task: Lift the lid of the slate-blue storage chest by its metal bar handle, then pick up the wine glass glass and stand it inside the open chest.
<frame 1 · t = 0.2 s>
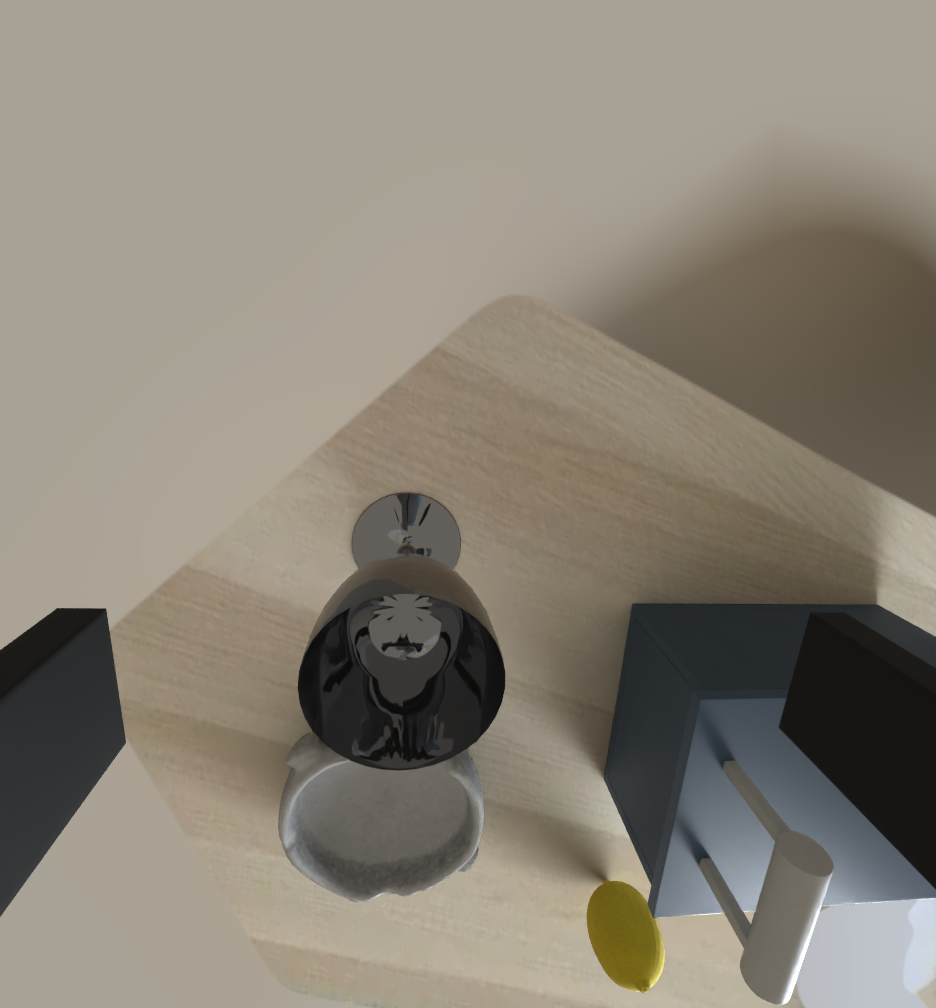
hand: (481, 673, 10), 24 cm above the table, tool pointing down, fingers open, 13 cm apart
chest: (737, 693, 41), on the table
lemon: (605, 879, 45), on the table
lid: (882, 856, 28), point 14 cm above the table, hinge at 0.0°
wine glass: (406, 543, 34), on the table
dish: (387, 776, 40), on the table
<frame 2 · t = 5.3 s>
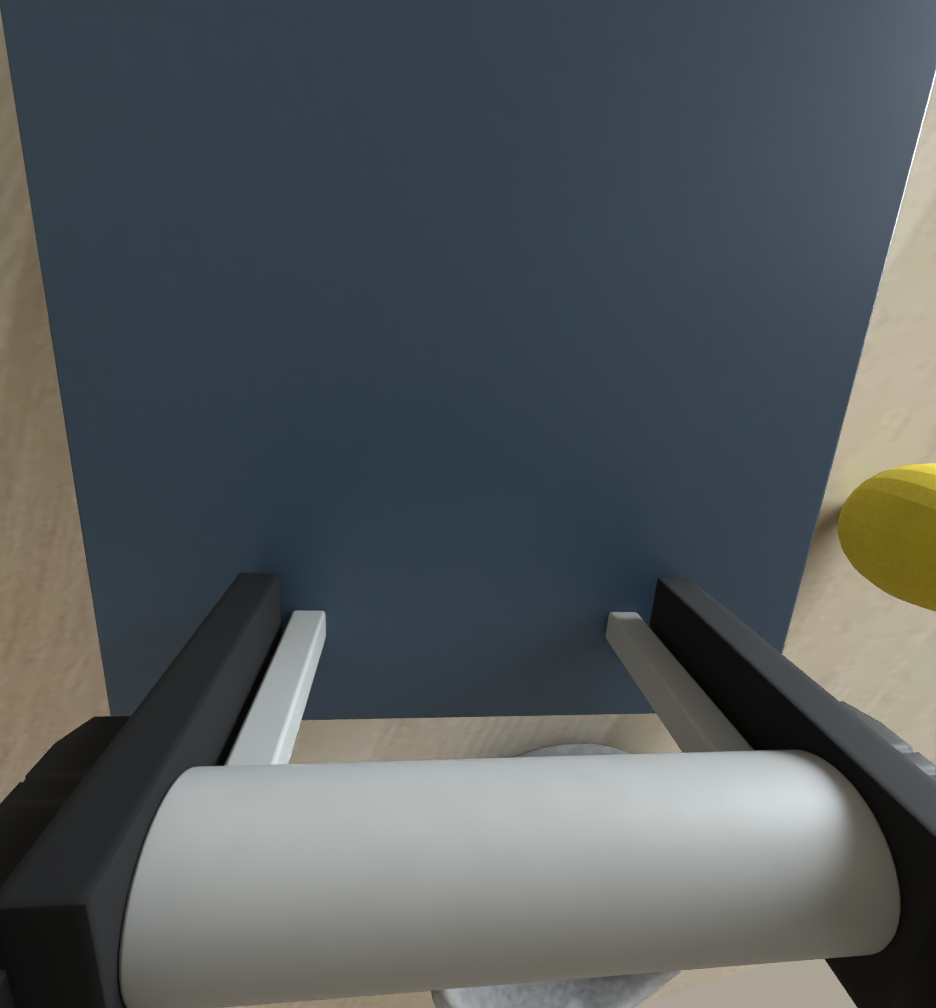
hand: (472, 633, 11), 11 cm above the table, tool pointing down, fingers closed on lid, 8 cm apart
lemon: (849, 504, 24), on the table
lid: (534, 203, 7), point 14 cm above the table, hinge at 0.0°, touching gripper
dish: (554, 834, 28), on the table
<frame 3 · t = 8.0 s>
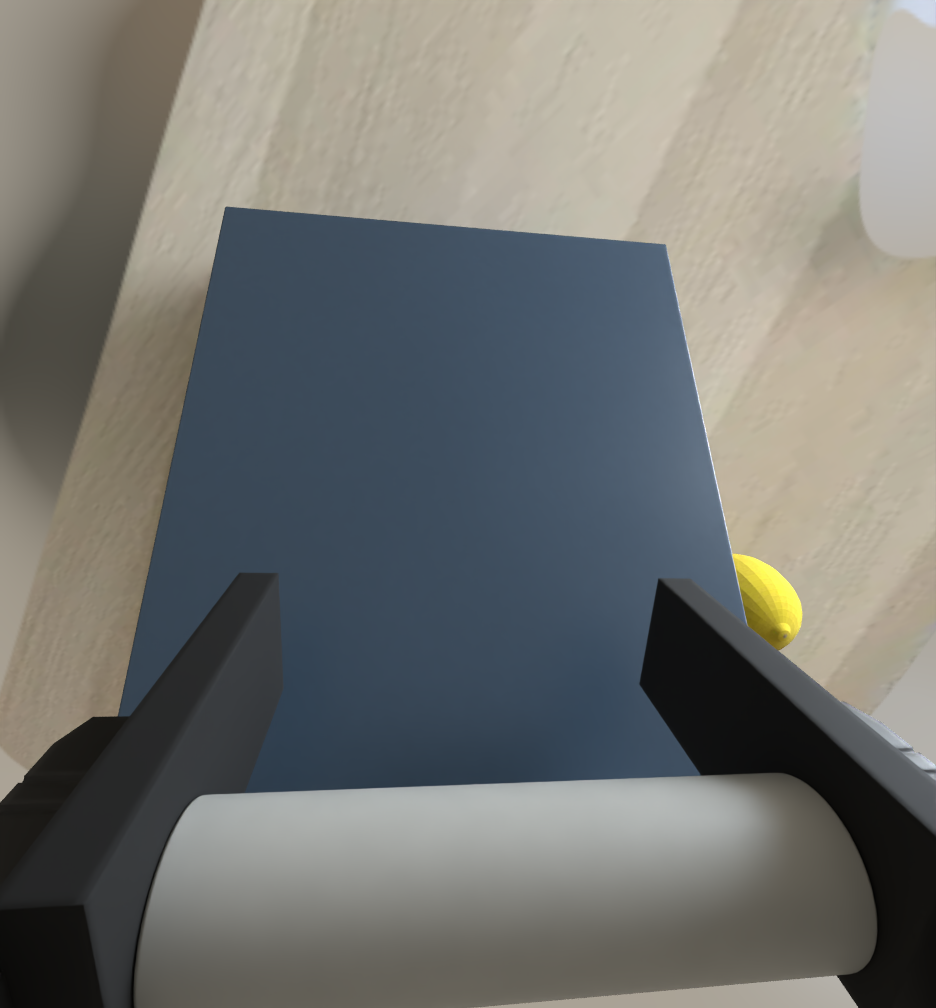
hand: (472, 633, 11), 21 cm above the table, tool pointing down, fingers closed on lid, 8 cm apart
lemon: (703, 573, 36), on the table
lid: (474, 441, 12), point 19 cm above the table, hinge at 38.5°, touching gripper
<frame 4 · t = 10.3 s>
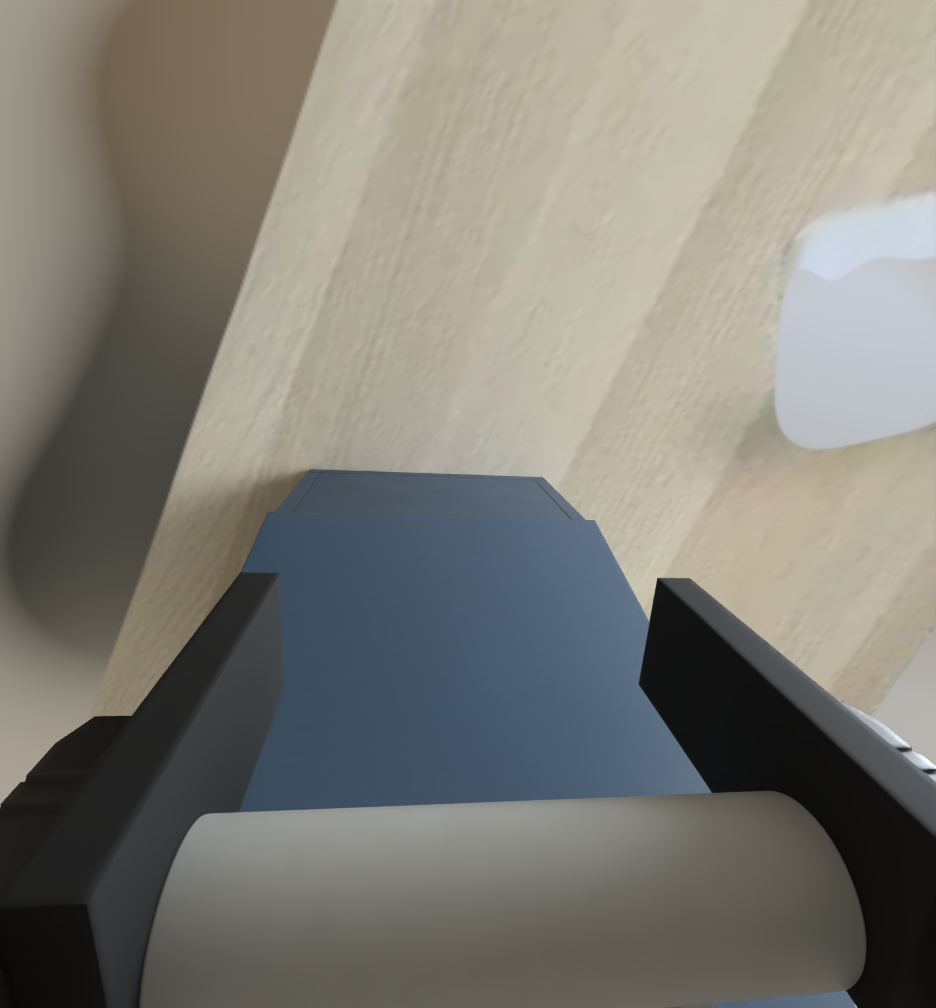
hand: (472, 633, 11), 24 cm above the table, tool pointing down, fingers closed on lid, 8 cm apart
chest: (424, 605, 37), on the table
lid: (456, 623, 15), point 21 cm above the table, hinge at 75.5°, touching gripper
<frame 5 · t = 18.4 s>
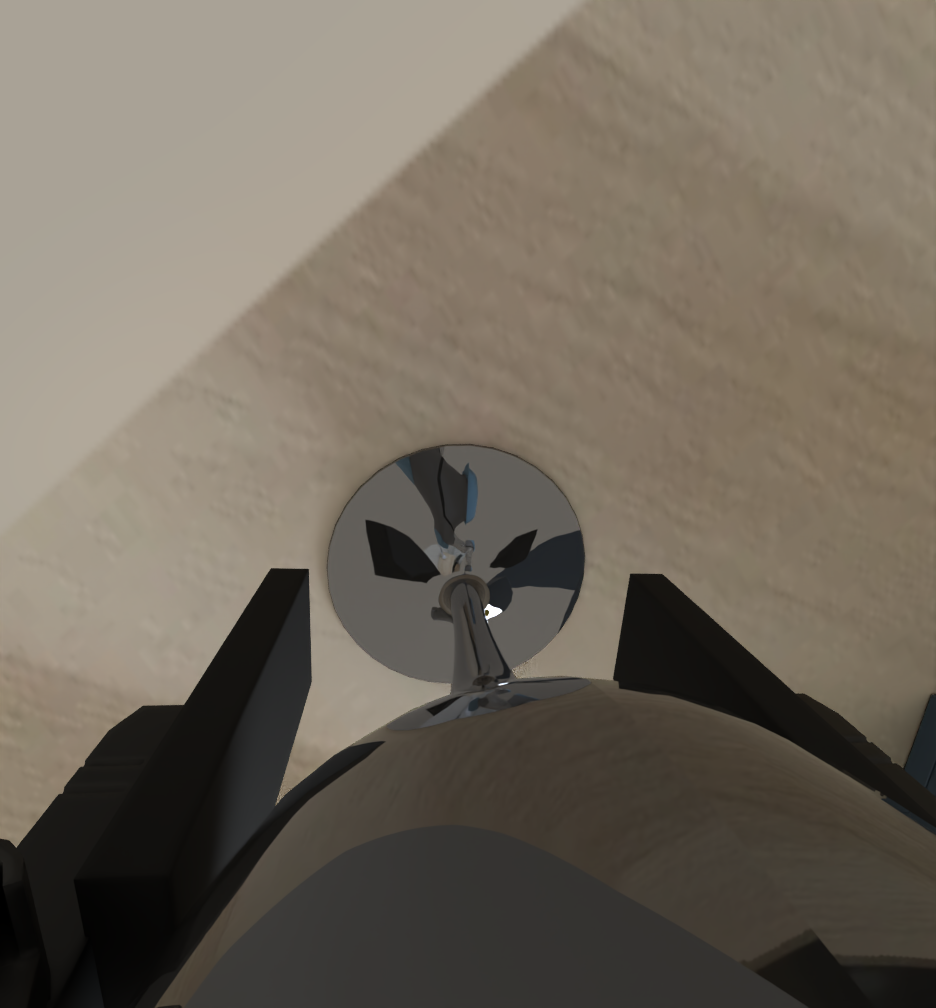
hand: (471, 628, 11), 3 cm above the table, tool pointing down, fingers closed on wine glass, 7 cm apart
wine glass: (458, 568, 14), on the table, touching gripper
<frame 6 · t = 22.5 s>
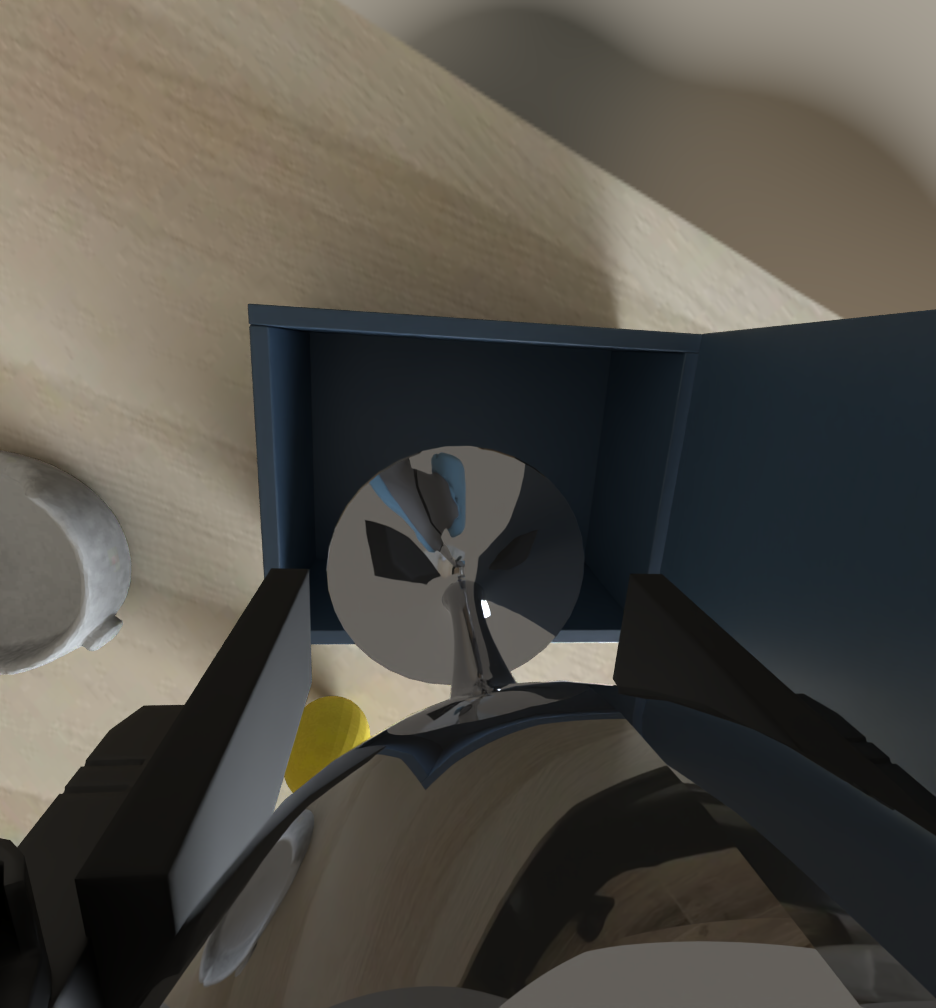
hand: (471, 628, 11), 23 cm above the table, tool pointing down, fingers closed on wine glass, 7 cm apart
chest: (458, 454, 34), on the table
lemon: (336, 704, 38), on the table
lid: (903, 614, 15), point 21 cm above the table, hinge at 78.2°, touching gripper
wine glass: (458, 570, 15), point 20 cm above the table, touching gripper
dish: (23, 548, 33), on the table
when the fingers open (4 cm above the table, at t = 27.1 s): wine glass stays where it is, resting on chest.
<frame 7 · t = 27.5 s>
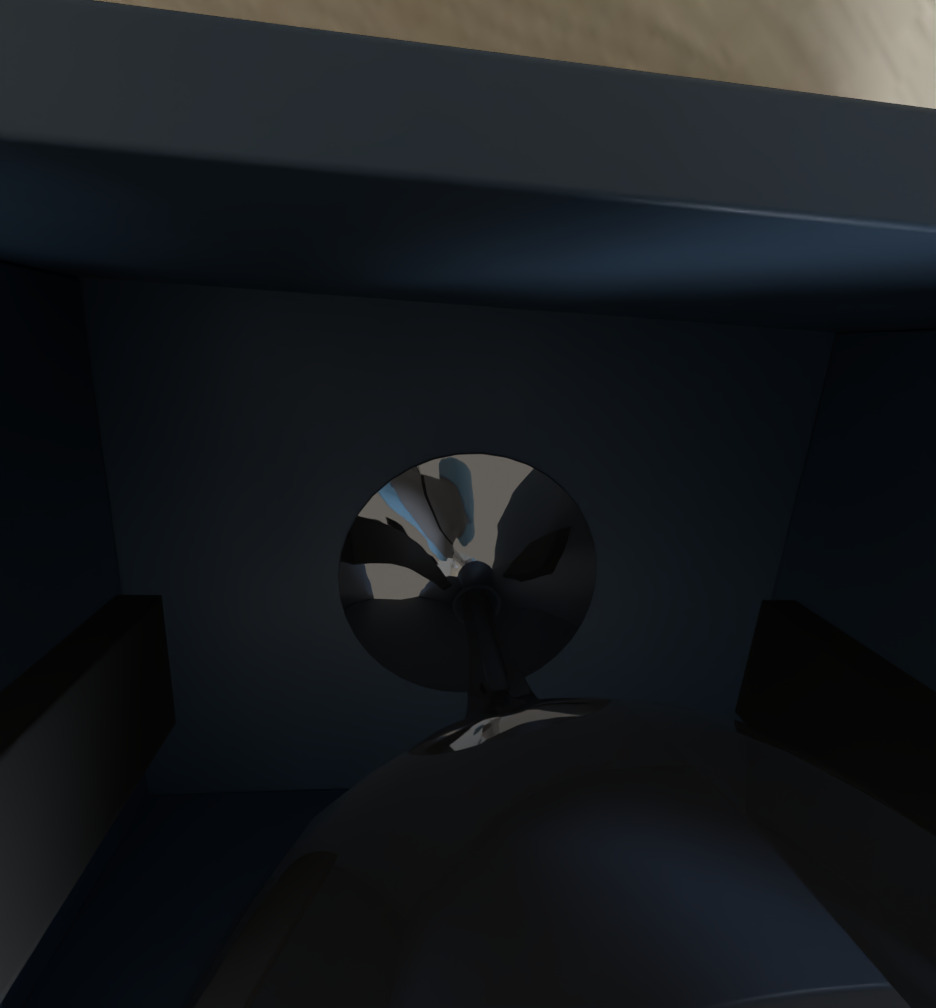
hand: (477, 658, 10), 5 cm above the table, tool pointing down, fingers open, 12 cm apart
chest: (467, 566, 15), on the table
wine glass: (469, 577, 14), point 1 cm above the table, touching chest
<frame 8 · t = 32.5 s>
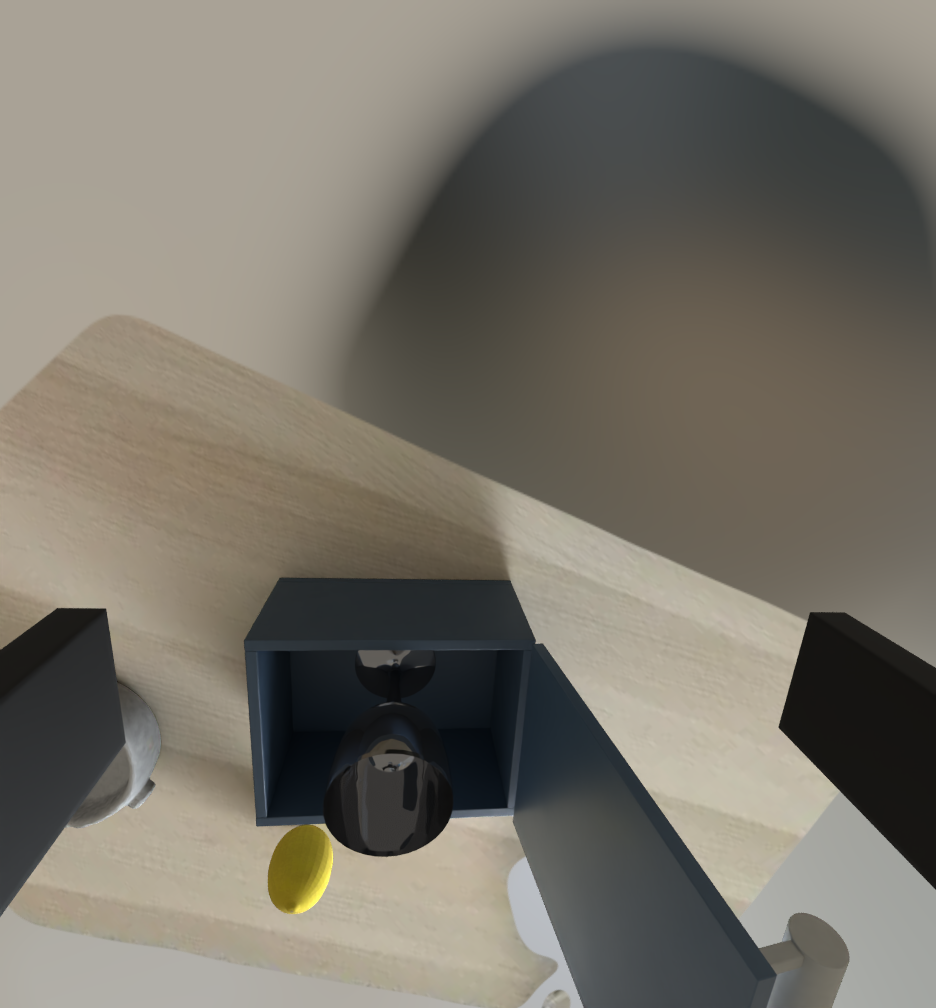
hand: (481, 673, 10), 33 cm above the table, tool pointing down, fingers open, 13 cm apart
chest: (395, 658, 47), on the table
lemon: (309, 825, 51), on the table
lid: (645, 856, 29), point 20 cm above the table, hinge at 98.2°
wine glass: (395, 662, 46), point 1 cm above the table, touching chest
dish: (84, 728, 46), on the table
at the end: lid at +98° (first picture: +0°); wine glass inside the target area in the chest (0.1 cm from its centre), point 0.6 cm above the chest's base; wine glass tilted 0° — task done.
